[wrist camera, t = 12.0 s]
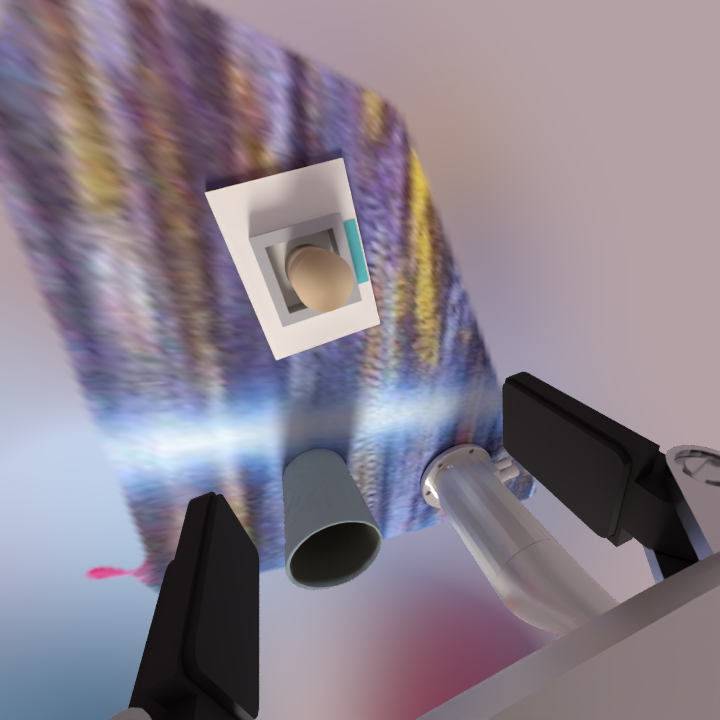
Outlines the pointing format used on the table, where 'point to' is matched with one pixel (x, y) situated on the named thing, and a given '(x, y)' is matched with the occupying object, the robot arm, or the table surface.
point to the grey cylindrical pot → (326, 522)
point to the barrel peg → (319, 277)
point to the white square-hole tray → (282, 234)
